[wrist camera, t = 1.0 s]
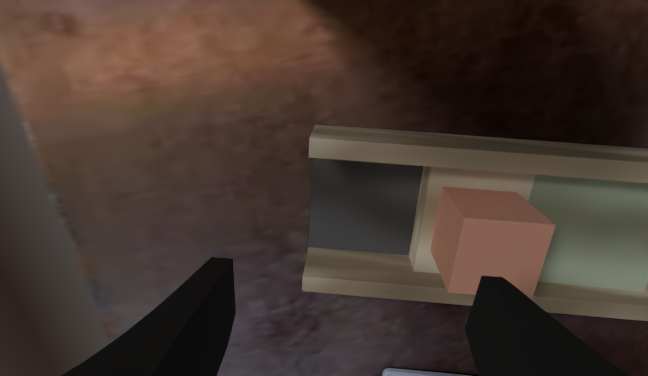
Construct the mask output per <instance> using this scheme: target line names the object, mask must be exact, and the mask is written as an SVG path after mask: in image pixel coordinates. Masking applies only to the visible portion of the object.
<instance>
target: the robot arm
mask: <svg viewBox="0 0 648 376" xmlns="http://www.w3.org/2000/svg"><path fill="white" fill-rule="evenodd" d="M235 313H236V310H235V292H234V273H233V259H228V258H214V257H212V258H210V259H209V260H208V261H207V262H206V263H205V264H204V265H202V266H201V267H200V268H199V269H198V270H197V271H196V272H195V273H194V274H193V275H192V276H191V277H190V278H189V279H188V280H186V281H185V282H184V283H183V284H182V285H181V286H180V287H179V288H178V289H177V290H176V291H174V292H173V293H172V294H171V295H170V296H169V297H168V298H166V299H165V300H164V301H163V302H162V303H161V304H160V305H159V306H157V307H156V308H155V309H154V310H153V311H151V312H150V313H149V314H148V315H146V316H145V317H144V318H143V319H141V320H140V321H139V322H138V323H137V324H135V325H134V326H133V327H132V328H130V329H129V330H128V331H127V332H125V333H124V334H123V335H121V336H120V337H119V338H117V339H116V340H115V341H113V342H112V343H110V344H109V345H108V346H106V347H105V348H103V349H102V350H100V351H99V352H97V353H96V354H95V355H93V356H92V357H90V358H89V359H87V360H86V361H84V362H83V363H81V364H80V365H78V366H76V367H75V368H73V369H71V370H70V371H68V372H67V373H65V374H63V375H62V376H217V373H218V370H219V367H220V365H221V362H222V359H223V357H224V354H225V351H226V348H227V346H228V342H229V338H230V334H231V330H232V326H233V321H234V317H235ZM465 329H466V333H467V337H468V341H469V345H470V349H471V352H472V356H473V359H474V363H475V365H476V368H477V370H478V373H479V375H480V376H629V375H627V374H626V373H624V372H623V371H622V370H620V369H619V368H617V367H616V366H615V365H613V364H612V363H611V362H609V361H608V360H607V359H605V358H604V357H602V356H601V355H600V354H598V353H597V352H596V351H594V350H593V349H592V348H590V347H589V346H588V345H587V344H585V343H584V342H583V341H581V340H580V339H579V338H578V337H576V336H575V335H574V334H572V333H571V332H570V331H569V330H567V329H566V328H565V327H564V326H563V325H561V324H560V323H559V322H558V321H556V320H555V319H554V318H553V317H551V316H550V315H549V314H548V313H547V312H545V311H544V310H543V309H542V308H541V307H539V306H538V305H537V304H536V303H535V302H533V301H532V300H531V299H530V298H529V297H527V296H526V295H525V294H524V293H523V292H521V291H520V290H519V289H518V288H516V287H515V286H514V285H513V284H511V283H510V282H509V281H507V280H506V279H505V278H503V277H494V276H481V279H480V282H479V286H478V289H477V292H476V295H475V298H474V302H473V305H472V308H471V311H470V314H469V318H468V321H467V324H466V327H465ZM382 376H471V375H460V374H449V373H439V372H428V371H417V370H406V369H395V368H387V369H385V370H384V371H383V374H382Z"/></svg>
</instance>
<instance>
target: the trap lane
mask: <svg viewBox="0 0 648 376" xmlns="http://www.w3.org/2000/svg"><path fill="white" fill-rule="evenodd" d="M309 157H310V158H313V172H312V191H311V210H310V228H309V247H308V252H307V258H306V263H305V268H304V273H303V284H302V291H307V292H319V293H330V294H342V295H353V296H365V297H376V298H388V299H399V300H411V301H422V302H434V303H445V304H457V305H468V306H472V305H473V302H474V298H475V295H470V294H459V293H448V292H447V289H446V287H445V284H444V282H443V280H442V277H441V275H440V273H439V270H438V268H437V265H436V263H435V261H434V258H433V256H432V253H431V251H430V249H431V243H432V238H433V233H434V227H435V222H436V217H437V211H438V206H439V201H440V196H441V190H442V186H444V187H457V188H470V189H483V190H496V191H509V192H517V193H518V194H519V195H521V196H522V197H523V198H524V199H525V200H527V201H528V202H529V203H530V204H531V205H533V206H534V207H535V208H536V209H537V210H539V211H540V212H541V213H542V214H543V215H545V216H546V217H547V218H548V219H549V220H551V221H552V222H553V223H554V224H555V225H556V226H555V229H554V232H553V235H552V238H551V242H550V245H549V248H548V251H547V254H546V257H545V261H544V264H543V267H542V270H541V273H540V276H539V279H538V283H537V286H536V289H535V292H534V295H533V298H532V301H533V302H535V303H536V304H537V305H538V306H539V307H541V308H542V309H543V310H544V311H545V312H549V313H560V314H572V315H583V316H595V317H606V318H617V319H629V320H640V321H648V148H634V147H620V146H607V145H593V144H579V143H565V142H552V141H538V140H524V139H510V138H497V137H483V136H469V135H455V134H442V133H428V132H414V131H400V130H387V129H373V128H359V127H345V126H332V125H318V124H315V126H314V129H313V131H312V133H311V136H310V141H309Z"/></svg>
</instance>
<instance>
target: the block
mask: <svg viewBox="0 0 648 376" xmlns="http://www.w3.org/2000/svg"><path fill="white" fill-rule="evenodd" d="M555 226H556V225H555V224H554V223H553V222H552V221H551V220H549V219H548V218H547V217H546V216H545V215H543V214H542V213H541V212H540V211H539V210H537V209H536V208H535V207H534V206H533V205H531V204H530V203H529V202H528V201H527V200H525V199H524V198H523V197H522V196H521V195H519V194H518V193H517V192H509V191H496V190H483V189H470V188H457V187H444V186H442V190H441V196H440V201H439V206H438V211H437V217H436V222H435V227H434V233H433V238H432V243H431V249H430V251H431V253H432V256H433V258H434V261H435V263H436V265H437V268H438V270H439V273H440V275H441V277H442V280H443V282H444V284H445V287H446V289H447V292H448V293H459V294H470V295H476V292H477V289H478V286H479V282H480V279H481V276H494V277H503V278H505V279H506V280H507V281H509V282H510V283H511V284H513V285H514V286H515V287H516V288H518V289H519V290H520V291H521V292H523V293H524V294H525V295H526V296H527V297H529V298H530V299H531V300H532V298H533V295H534V292H535V289H536V286H537V283H538V279H539V276H540V273H541V270H542V267H543V264H544V261H545V257H546V254H547V251H548V248H549V245H550V242H551V238H552V235H553V232H554V229H555Z"/></svg>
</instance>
